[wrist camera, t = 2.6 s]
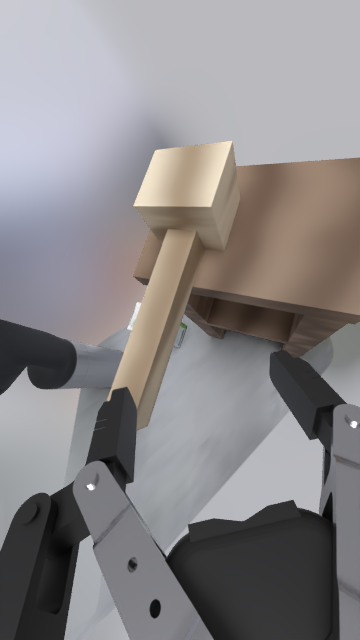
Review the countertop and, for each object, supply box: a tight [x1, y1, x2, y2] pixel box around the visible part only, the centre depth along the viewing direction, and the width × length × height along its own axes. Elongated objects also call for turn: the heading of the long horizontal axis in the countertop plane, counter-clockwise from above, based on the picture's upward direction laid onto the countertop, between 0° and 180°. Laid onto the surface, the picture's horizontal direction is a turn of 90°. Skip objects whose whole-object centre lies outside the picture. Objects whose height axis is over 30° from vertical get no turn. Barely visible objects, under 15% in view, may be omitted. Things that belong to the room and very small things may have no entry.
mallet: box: [107, 141, 240, 431], centre depth 16 cm, size 6×20×5 cm, turn 161°
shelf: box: [133, 158, 360, 358], centre depth 32 cm, size 18×12×32 cm, turn 71°
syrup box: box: [127, 302, 187, 348], centre depth 46 cm, size 6×6×14 cm
